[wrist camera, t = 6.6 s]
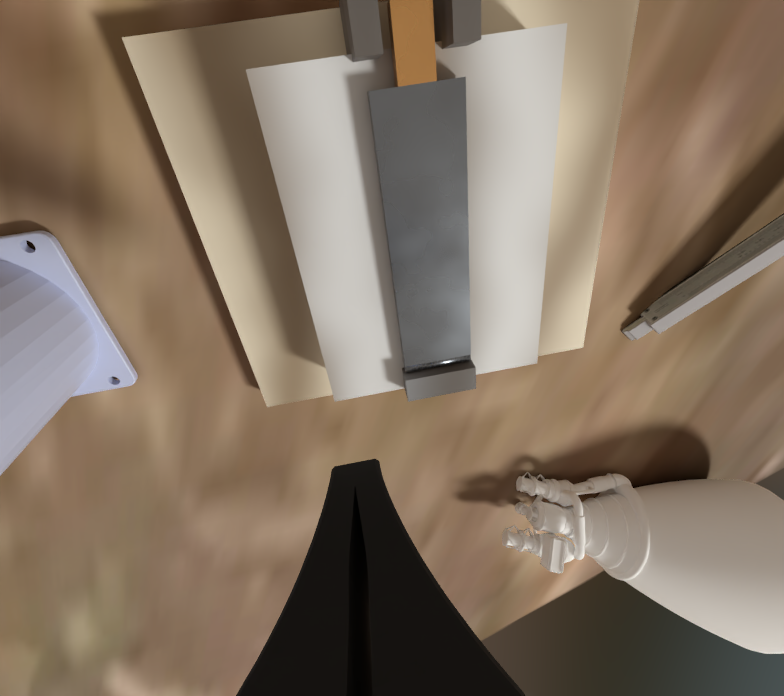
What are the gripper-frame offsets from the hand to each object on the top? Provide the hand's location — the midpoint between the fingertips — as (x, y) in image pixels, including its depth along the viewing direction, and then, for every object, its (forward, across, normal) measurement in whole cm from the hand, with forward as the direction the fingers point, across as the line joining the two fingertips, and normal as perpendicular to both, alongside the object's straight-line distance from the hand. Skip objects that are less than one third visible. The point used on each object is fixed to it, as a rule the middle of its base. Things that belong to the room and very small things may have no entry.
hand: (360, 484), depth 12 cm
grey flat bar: (+7, -4, -6) cm, 10 cm away
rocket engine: (+11, -19, +19) cm, 29 cm away
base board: (+10, -4, -4) cm, 12 cm away
